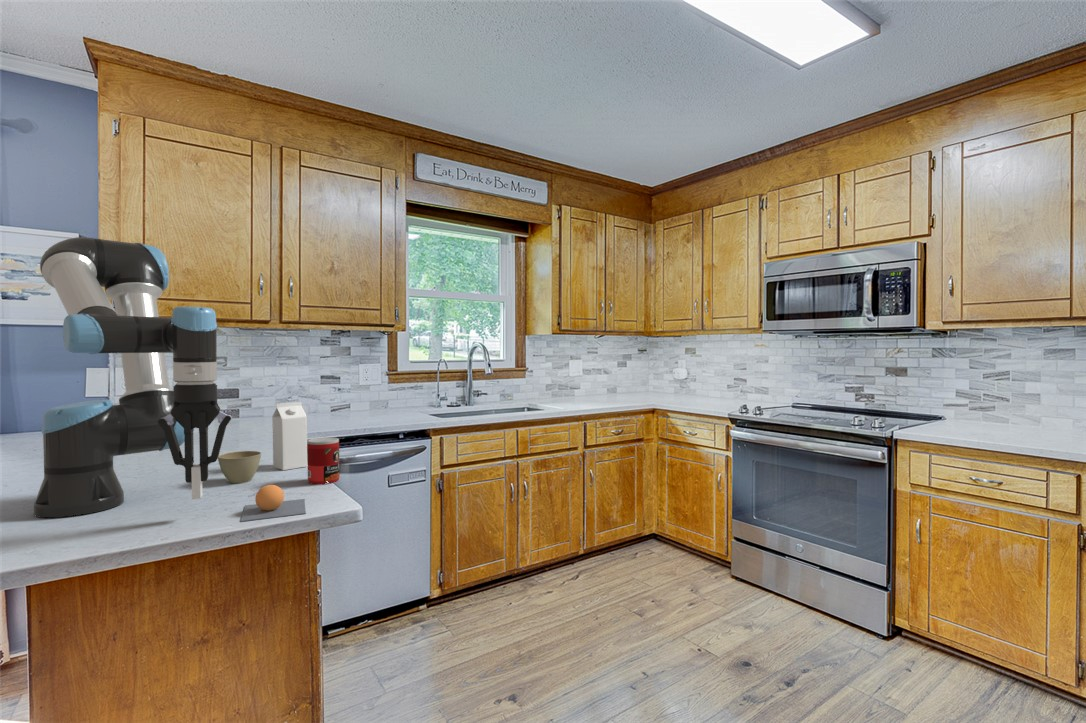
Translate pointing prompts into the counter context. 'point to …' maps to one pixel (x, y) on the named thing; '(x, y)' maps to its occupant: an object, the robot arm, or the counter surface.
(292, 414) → the milk carton
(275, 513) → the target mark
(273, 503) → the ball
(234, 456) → the olive green bowl
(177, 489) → the counter surface
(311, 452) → the canned food
